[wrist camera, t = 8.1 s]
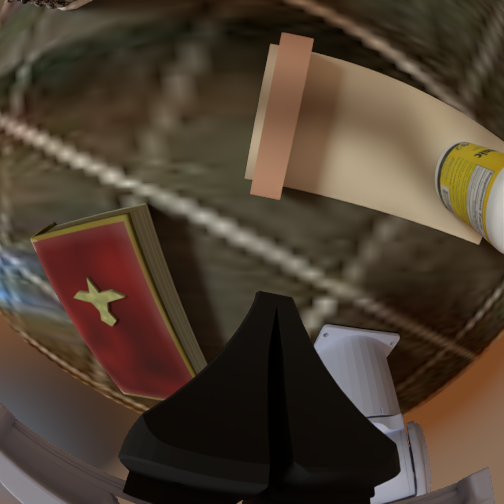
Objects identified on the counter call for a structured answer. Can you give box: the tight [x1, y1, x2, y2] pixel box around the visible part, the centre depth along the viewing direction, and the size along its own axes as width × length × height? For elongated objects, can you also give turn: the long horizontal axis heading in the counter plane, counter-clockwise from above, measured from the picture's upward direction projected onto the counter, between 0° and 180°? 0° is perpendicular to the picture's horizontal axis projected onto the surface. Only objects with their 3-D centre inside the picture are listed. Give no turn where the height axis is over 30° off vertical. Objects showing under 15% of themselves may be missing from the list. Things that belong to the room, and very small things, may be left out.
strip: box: [245, 32, 504, 245], centre depth 14 cm, size 9×20×3 cm, turn 80°
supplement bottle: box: [435, 142, 504, 254], centre depth 11 cm, size 5×5×10 cm
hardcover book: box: [30, 203, 208, 400], centre depth 23 cm, size 12×21×4 cm, turn 10°
